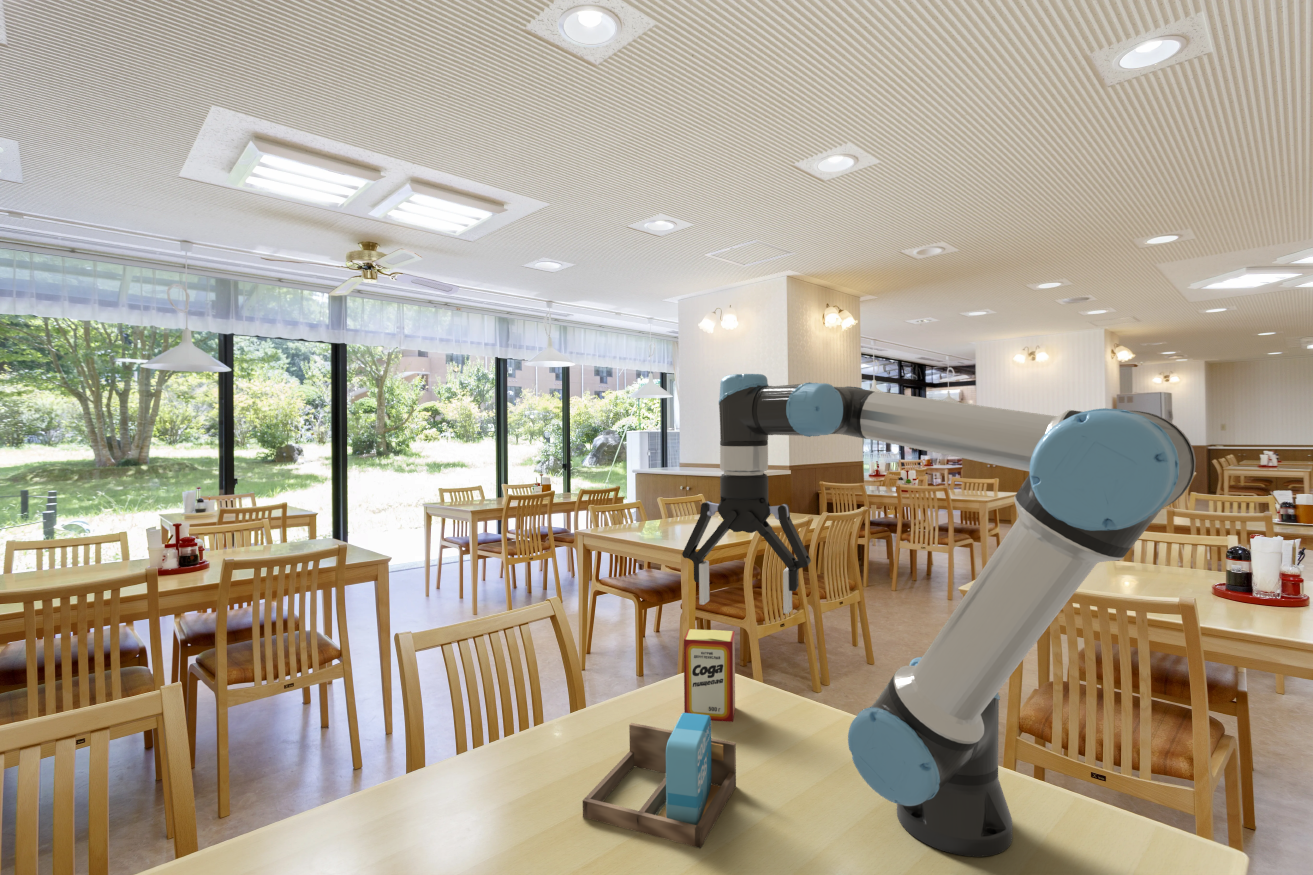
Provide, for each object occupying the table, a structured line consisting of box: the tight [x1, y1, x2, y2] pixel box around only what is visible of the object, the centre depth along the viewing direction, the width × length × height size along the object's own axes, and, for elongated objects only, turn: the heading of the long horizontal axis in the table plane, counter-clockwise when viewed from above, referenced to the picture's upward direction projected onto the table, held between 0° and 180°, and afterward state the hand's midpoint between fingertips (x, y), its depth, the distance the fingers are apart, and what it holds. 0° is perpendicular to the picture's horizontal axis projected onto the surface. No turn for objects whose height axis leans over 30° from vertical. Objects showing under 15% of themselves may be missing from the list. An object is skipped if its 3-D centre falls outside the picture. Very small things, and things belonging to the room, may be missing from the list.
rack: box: [582, 722, 737, 849], centre depth 101 cm, size 18×17×7 cm
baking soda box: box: [683, 628, 736, 723], centre depth 131 cm, size 10×6×16 cm
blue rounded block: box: [665, 712, 712, 825], centre depth 99 cm, size 12×4×12 cm, turn 165°
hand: (745, 606), depth 104 cm, fingers open, 13 cm apart
